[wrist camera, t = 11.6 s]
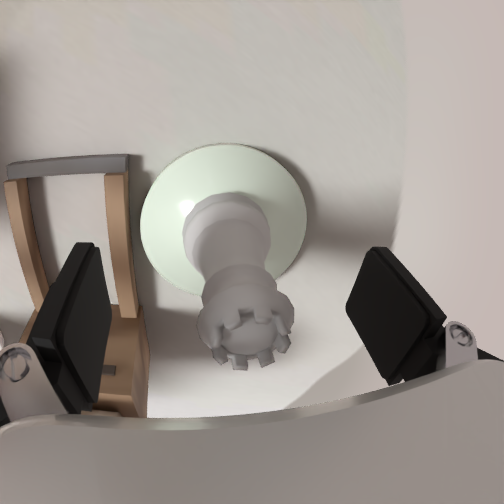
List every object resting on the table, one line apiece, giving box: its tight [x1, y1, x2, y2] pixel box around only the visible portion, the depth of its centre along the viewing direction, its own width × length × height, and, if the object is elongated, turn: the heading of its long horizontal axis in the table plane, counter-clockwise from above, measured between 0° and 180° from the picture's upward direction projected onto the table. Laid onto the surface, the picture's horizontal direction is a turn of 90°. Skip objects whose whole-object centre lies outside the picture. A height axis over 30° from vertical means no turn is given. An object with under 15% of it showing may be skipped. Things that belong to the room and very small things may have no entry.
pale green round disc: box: [140, 143, 307, 297], centre depth 16 cm, size 9×9×1 cm
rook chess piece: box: [182, 192, 294, 370], centre depth 12 cm, size 4×4×8 cm
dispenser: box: [4, 154, 150, 418], centre depth 11 cm, size 15×8×11 cm, turn 173°
